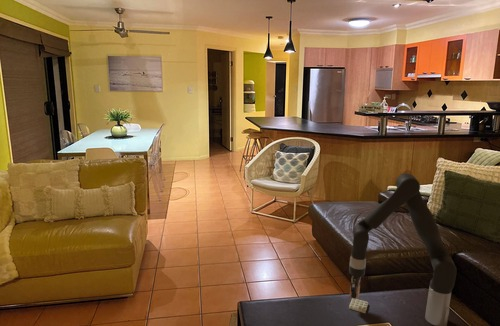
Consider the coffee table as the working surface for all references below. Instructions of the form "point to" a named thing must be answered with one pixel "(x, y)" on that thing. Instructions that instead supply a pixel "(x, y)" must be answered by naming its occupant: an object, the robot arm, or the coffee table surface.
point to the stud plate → (358, 305)
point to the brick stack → (356, 293)
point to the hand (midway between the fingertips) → (354, 295)
